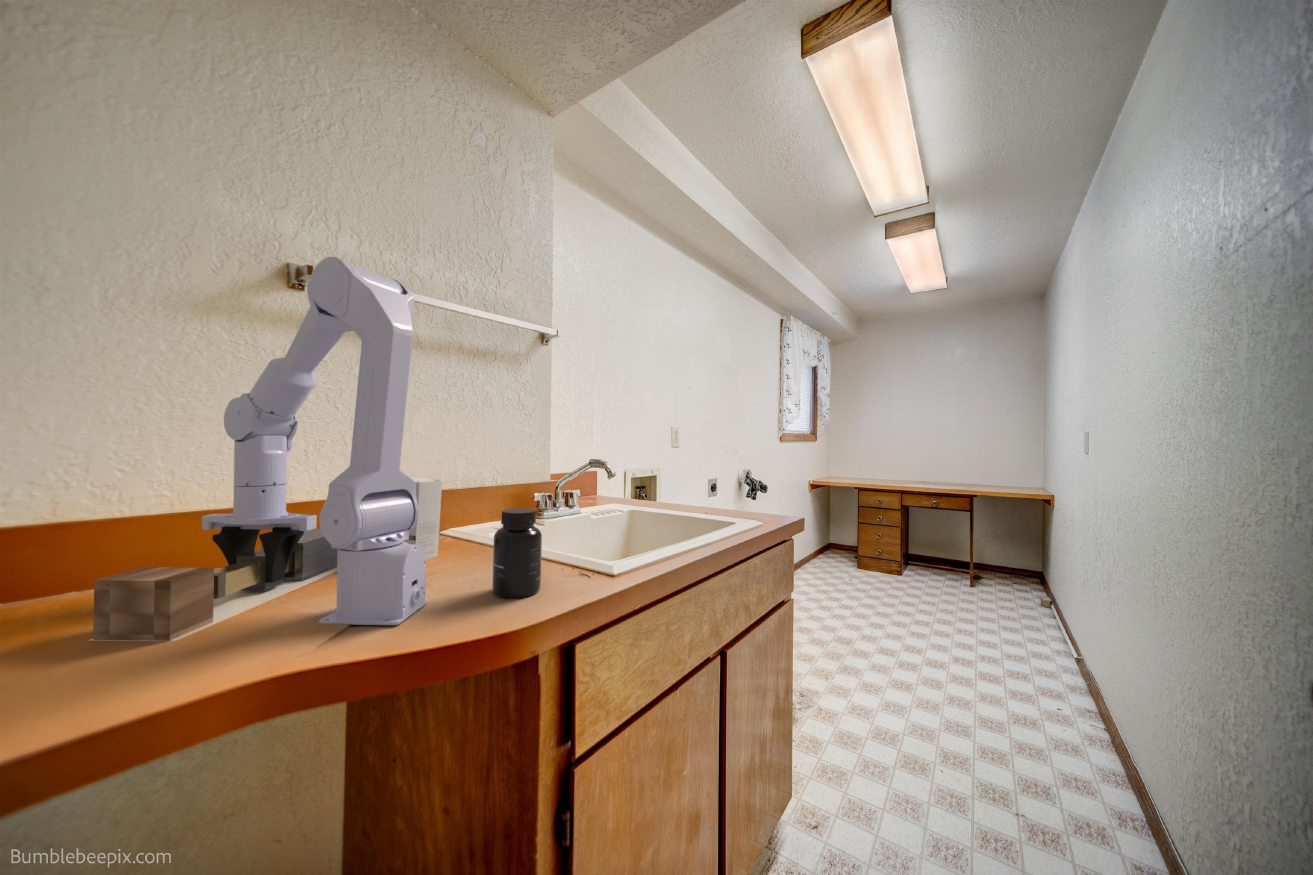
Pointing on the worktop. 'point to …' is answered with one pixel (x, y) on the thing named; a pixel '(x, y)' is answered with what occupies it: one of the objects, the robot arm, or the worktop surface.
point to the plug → (246, 574)
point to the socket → (153, 603)
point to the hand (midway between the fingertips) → (259, 580)
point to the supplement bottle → (517, 555)
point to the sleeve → (311, 556)
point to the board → (246, 601)
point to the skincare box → (427, 516)
